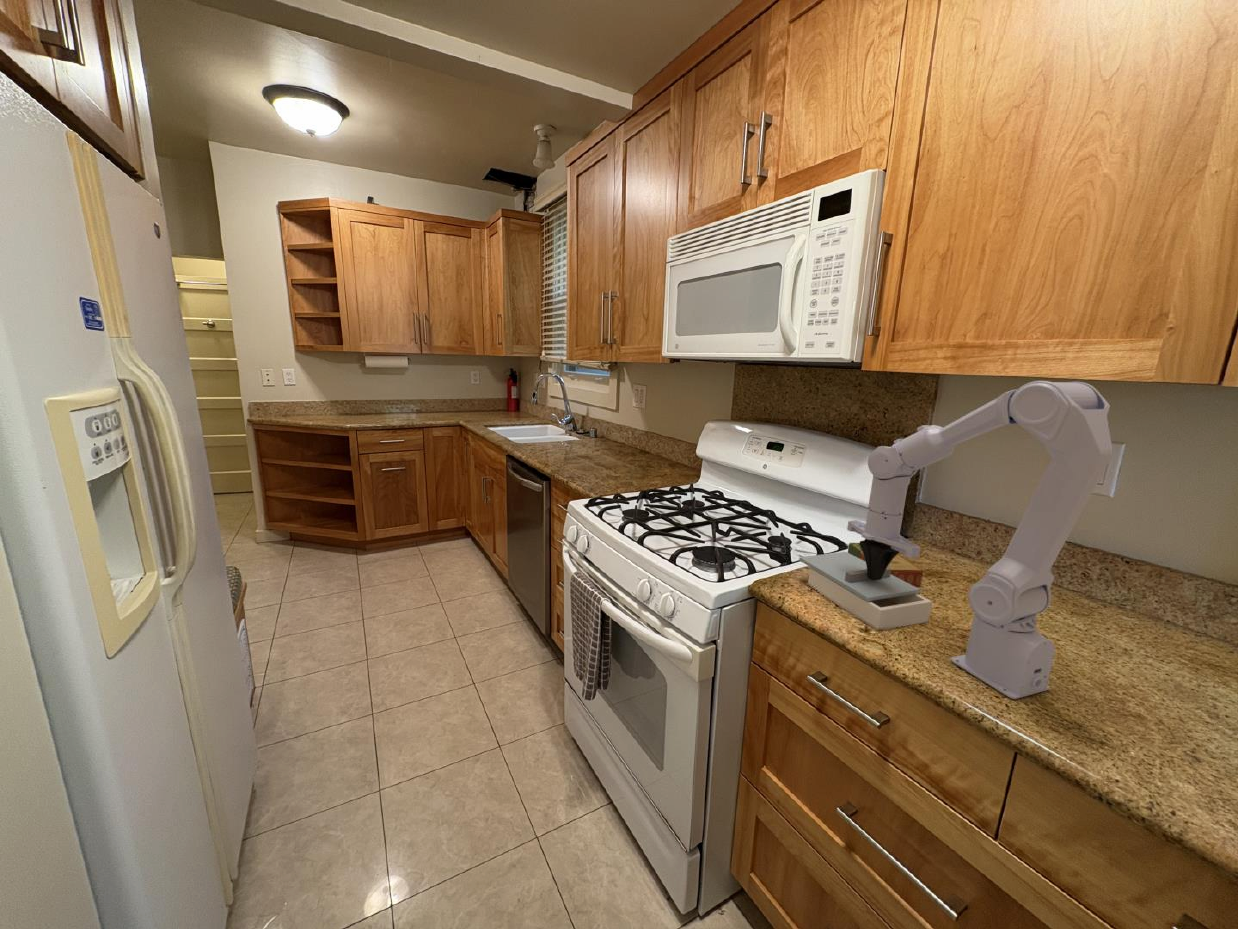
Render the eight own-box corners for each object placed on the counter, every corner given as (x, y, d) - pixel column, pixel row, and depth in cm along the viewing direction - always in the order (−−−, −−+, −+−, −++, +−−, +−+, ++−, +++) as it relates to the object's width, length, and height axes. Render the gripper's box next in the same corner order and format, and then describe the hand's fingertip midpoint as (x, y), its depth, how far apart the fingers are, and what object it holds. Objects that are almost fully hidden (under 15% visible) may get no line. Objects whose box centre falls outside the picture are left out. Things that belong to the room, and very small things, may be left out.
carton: (882, 588, 102) (885, 569, 101) (845, 557, 118) (847, 541, 117) (921, 588, 102) (924, 569, 101) (879, 558, 118) (881, 541, 117)
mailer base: (928, 621, 88) (932, 601, 87) (877, 631, 84) (881, 610, 84) (853, 579, 105) (855, 561, 104) (807, 585, 101) (809, 567, 100)
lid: (919, 592, 90) (921, 580, 90) (867, 601, 86) (869, 589, 86) (845, 554, 107) (846, 544, 107) (799, 560, 103) (800, 549, 103)
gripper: (839, 500, 95) (830, 565, 98) (902, 525, 81) (890, 599, 84) (867, 498, 97) (857, 561, 100) (933, 522, 83) (920, 594, 86)
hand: (874, 578), depth 92 cm, fingers closed
